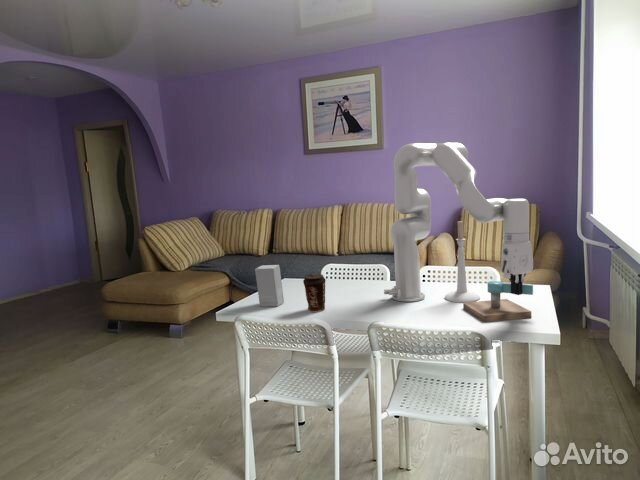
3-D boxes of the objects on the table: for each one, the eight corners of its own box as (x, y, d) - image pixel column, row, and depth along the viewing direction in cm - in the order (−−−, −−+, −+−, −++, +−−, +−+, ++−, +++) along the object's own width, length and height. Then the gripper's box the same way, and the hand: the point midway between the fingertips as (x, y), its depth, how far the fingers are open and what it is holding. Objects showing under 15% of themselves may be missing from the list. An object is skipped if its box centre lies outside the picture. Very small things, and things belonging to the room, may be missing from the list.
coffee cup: (306, 307, 178) (303, 274, 176) (327, 306, 177) (325, 272, 176) (304, 313, 169) (302, 279, 167) (327, 312, 169) (325, 277, 167)
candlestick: (470, 304, 167) (468, 222, 164) (438, 299, 176) (436, 221, 172) (485, 296, 177) (484, 218, 173) (454, 292, 185) (452, 218, 182)
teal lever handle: (486, 292, 154) (485, 283, 154) (489, 289, 158) (489, 280, 158) (531, 296, 147) (531, 286, 146) (534, 292, 151) (534, 283, 151)
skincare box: (284, 302, 186) (281, 264, 184) (277, 307, 180) (274, 267, 178) (265, 302, 189) (262, 264, 187) (257, 306, 183) (254, 267, 181)
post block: (483, 321, 147) (483, 300, 146) (463, 308, 163) (462, 289, 162) (531, 317, 149) (531, 296, 148) (506, 304, 165) (506, 285, 164)
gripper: (509, 241, 140) (510, 300, 142) (542, 236, 147) (542, 292, 149) (490, 239, 146) (490, 295, 149) (522, 234, 153) (522, 288, 156)
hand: (516, 293), depth 149 cm, fingers closed
